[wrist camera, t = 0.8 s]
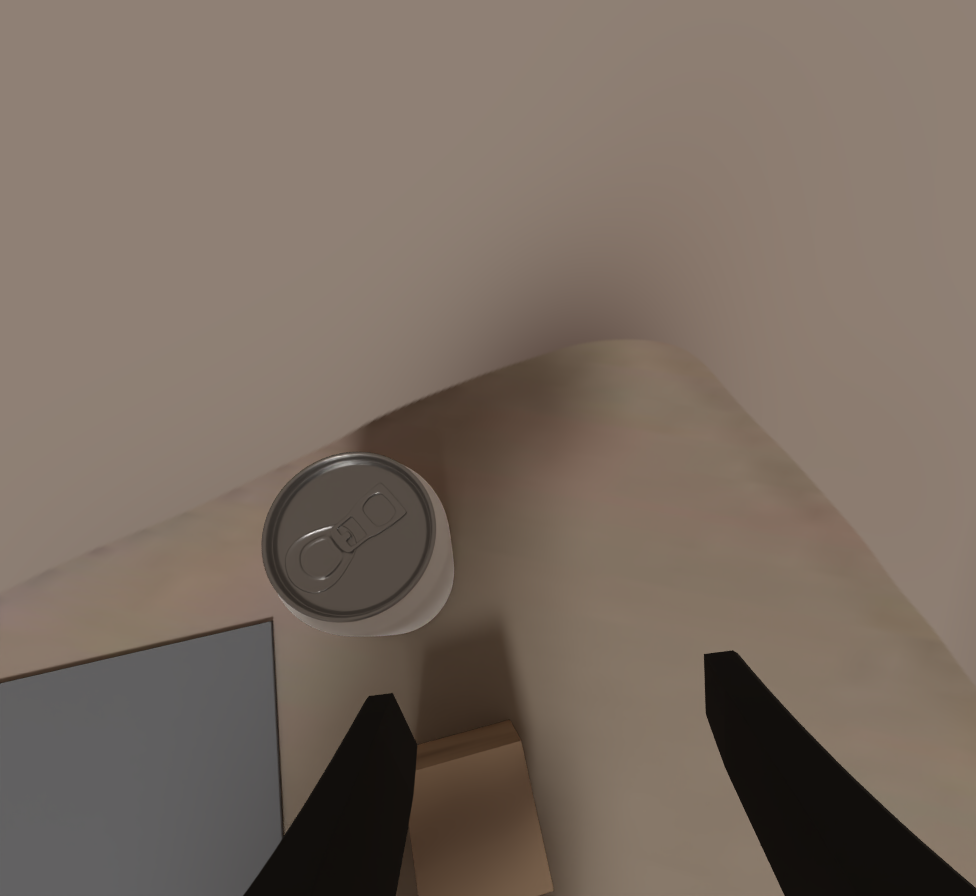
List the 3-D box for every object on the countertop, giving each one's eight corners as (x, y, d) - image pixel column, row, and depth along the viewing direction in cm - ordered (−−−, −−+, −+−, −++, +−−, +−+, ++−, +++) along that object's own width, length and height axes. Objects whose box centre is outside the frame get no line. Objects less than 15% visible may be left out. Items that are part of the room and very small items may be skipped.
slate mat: (289, 958, 20) (287, 961, 19) (-79, 1078, 18) (-85, 1083, 18) (272, 621, 25) (270, 621, 24) (-17, 687, 23) (-21, 688, 23)
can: (317, 570, 26) (207, 524, 15) (406, 497, 28) (368, 406, 17) (388, 662, 24) (325, 688, 13) (477, 577, 26) (489, 537, 15)
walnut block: (534, 835, 22) (553, 890, 17) (431, 868, 21) (423, 933, 16) (509, 719, 24) (521, 740, 19) (413, 745, 23) (401, 774, 18)
